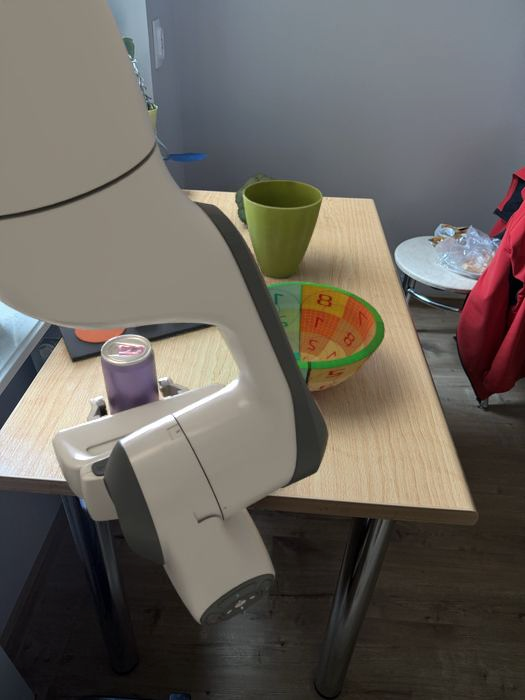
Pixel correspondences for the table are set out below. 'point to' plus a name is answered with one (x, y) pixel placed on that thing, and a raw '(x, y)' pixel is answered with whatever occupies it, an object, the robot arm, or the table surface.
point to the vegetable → (239, 194)
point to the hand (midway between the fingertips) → (131, 391)
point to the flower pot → (281, 223)
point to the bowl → (327, 330)
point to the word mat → (92, 341)
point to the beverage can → (129, 372)
